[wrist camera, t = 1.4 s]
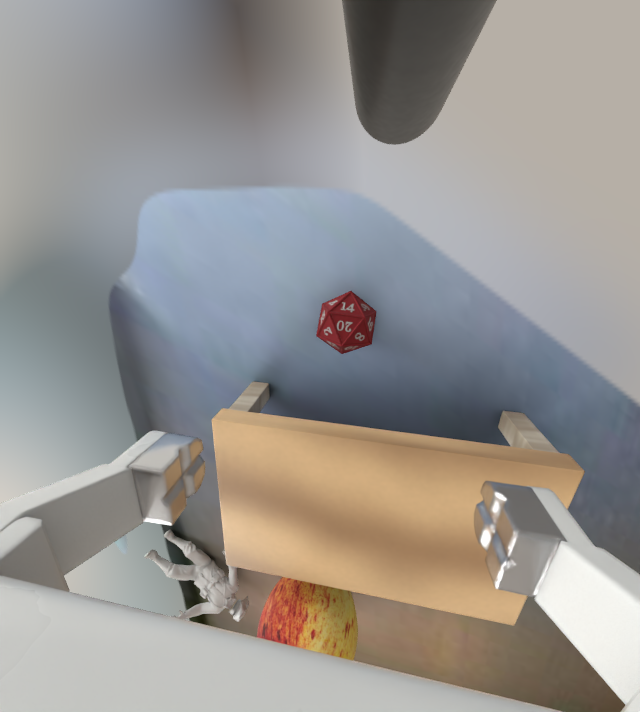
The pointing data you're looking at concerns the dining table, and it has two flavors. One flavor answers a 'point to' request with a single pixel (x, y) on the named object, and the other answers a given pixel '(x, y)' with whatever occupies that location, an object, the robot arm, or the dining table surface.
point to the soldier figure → (203, 580)
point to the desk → (373, 504)
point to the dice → (346, 323)
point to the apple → (310, 618)
